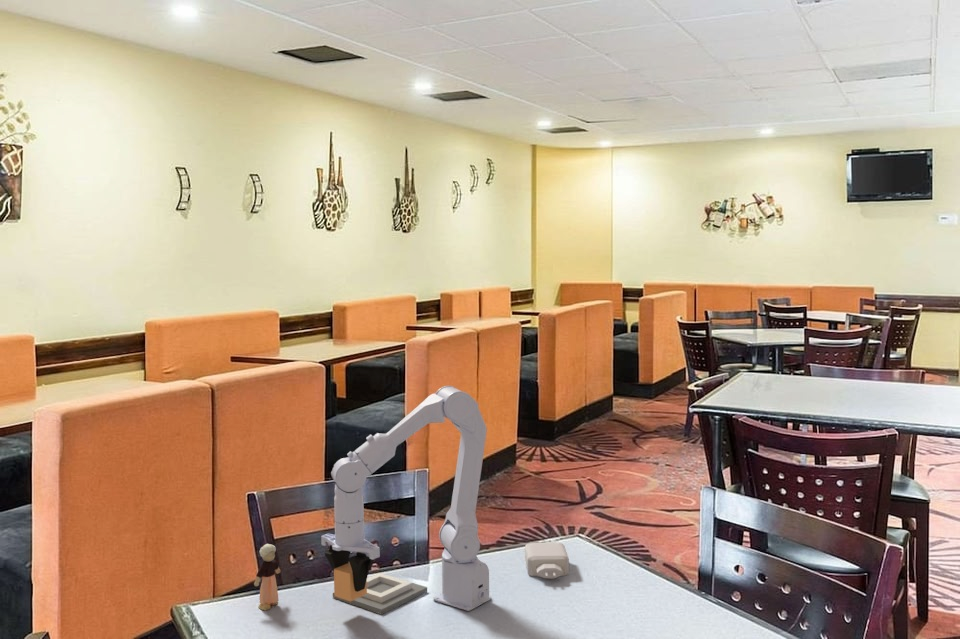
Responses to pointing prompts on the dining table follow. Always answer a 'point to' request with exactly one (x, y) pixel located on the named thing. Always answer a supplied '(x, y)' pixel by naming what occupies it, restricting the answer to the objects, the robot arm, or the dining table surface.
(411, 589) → the socket plate
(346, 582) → the block
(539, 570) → the charger
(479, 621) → the dining table surface
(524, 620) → the dining table surface
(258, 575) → the grandmother figurine
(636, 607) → the dining table surface
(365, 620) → the dining table surface
